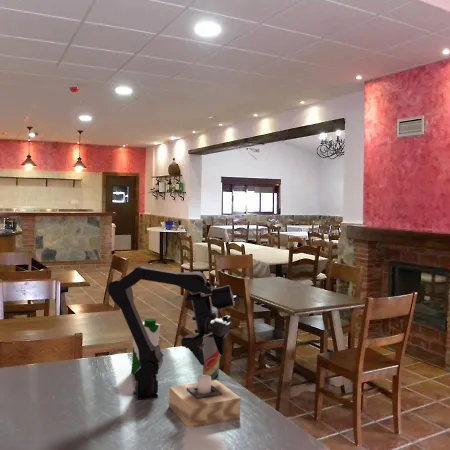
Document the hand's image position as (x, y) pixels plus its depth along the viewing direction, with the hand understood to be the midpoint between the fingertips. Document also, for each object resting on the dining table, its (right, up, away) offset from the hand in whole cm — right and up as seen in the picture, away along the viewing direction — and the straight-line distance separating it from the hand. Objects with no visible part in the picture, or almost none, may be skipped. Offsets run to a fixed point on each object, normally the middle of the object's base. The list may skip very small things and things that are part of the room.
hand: (212, 359), depth 155 cm
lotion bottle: (-1, -12, +19) cm, 23 cm away
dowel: (-2, -8, -10) cm, 13 cm away
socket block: (-2, -13, -9) cm, 16 cm away
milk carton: (-25, -11, +23) cm, 36 cm away
